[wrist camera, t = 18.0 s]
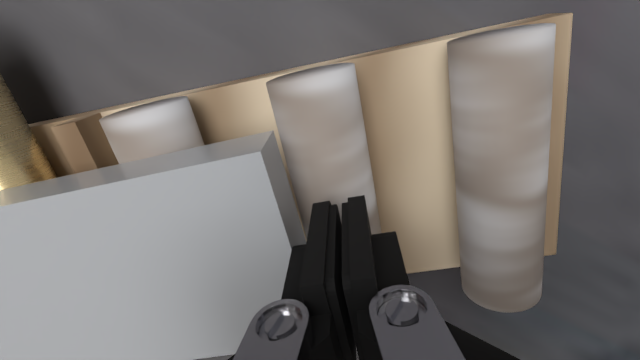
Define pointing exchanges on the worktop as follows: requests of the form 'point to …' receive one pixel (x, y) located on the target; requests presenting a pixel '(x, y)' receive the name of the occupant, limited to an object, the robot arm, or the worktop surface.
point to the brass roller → (19, 146)
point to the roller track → (389, 144)
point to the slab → (147, 255)
